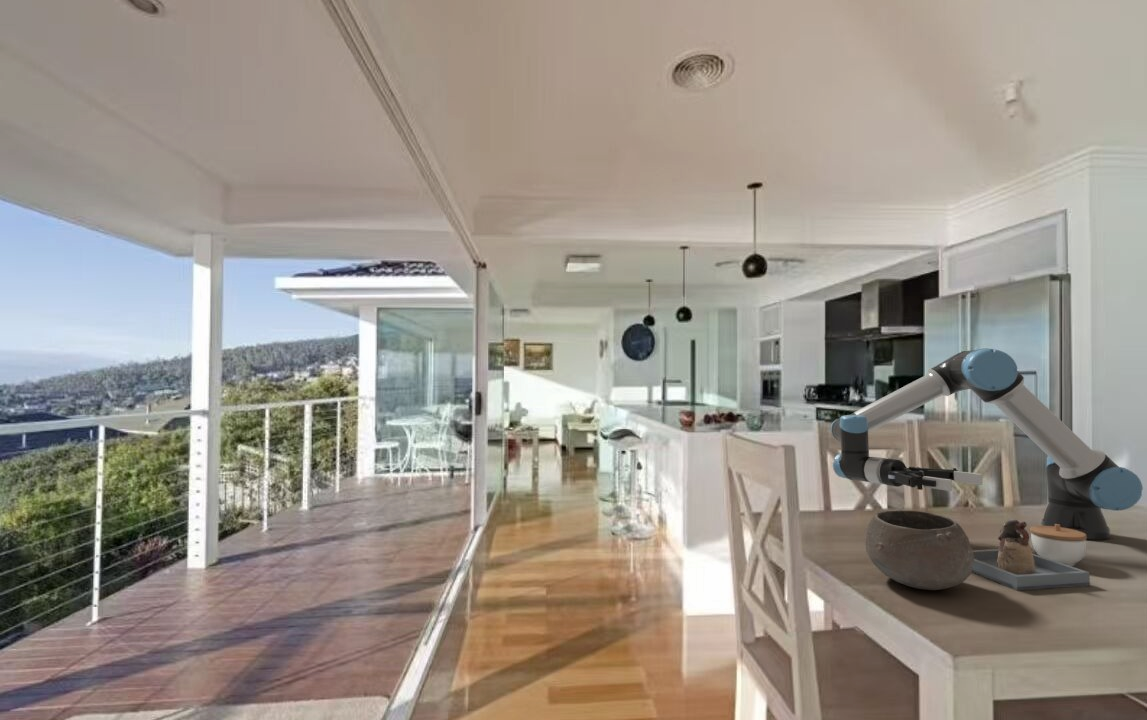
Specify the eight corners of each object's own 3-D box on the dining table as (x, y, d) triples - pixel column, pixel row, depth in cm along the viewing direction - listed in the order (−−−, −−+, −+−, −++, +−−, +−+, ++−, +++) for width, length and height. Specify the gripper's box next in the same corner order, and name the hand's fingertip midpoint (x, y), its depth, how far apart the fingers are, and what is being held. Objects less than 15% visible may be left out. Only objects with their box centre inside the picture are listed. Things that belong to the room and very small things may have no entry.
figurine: (1014, 564, 136) (1013, 515, 136) (1043, 574, 129) (1041, 522, 129) (989, 566, 134) (987, 516, 135) (1017, 576, 127) (1015, 523, 128)
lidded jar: (1037, 565, 137) (1035, 527, 138) (1026, 553, 147) (1025, 517, 147) (1094, 572, 132) (1093, 532, 133) (1079, 559, 142) (1078, 521, 142)
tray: (1015, 560, 142) (1015, 548, 142) (1089, 586, 124) (1089, 572, 124) (951, 563, 139) (951, 551, 139) (1017, 590, 121) (1016, 576, 122)
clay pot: (981, 609, 112) (979, 534, 112) (864, 591, 122) (862, 522, 123) (967, 576, 130) (965, 511, 131) (867, 563, 140) (865, 503, 141)
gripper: (913, 480, 165) (994, 491, 146) (858, 489, 154) (938, 503, 135) (912, 454, 166) (992, 462, 147) (857, 462, 154) (936, 472, 135)
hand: (966, 482), depth 141 cm, fingers open, 13 cm apart
